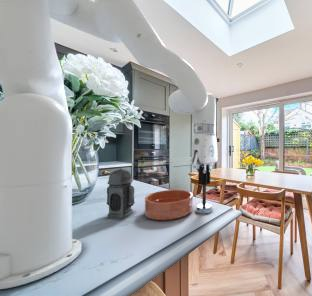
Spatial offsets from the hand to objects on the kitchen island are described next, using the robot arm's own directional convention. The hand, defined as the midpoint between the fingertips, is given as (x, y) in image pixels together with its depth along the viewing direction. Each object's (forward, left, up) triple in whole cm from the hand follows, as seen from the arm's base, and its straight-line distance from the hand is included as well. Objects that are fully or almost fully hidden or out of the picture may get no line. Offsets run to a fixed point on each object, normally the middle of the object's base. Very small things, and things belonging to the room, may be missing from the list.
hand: (204, 183), depth 58 cm
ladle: (0, 0, -10) cm, 10 cm away
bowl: (-6, +10, -10) cm, 15 cm away
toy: (-15, +22, -10) cm, 28 cm away
